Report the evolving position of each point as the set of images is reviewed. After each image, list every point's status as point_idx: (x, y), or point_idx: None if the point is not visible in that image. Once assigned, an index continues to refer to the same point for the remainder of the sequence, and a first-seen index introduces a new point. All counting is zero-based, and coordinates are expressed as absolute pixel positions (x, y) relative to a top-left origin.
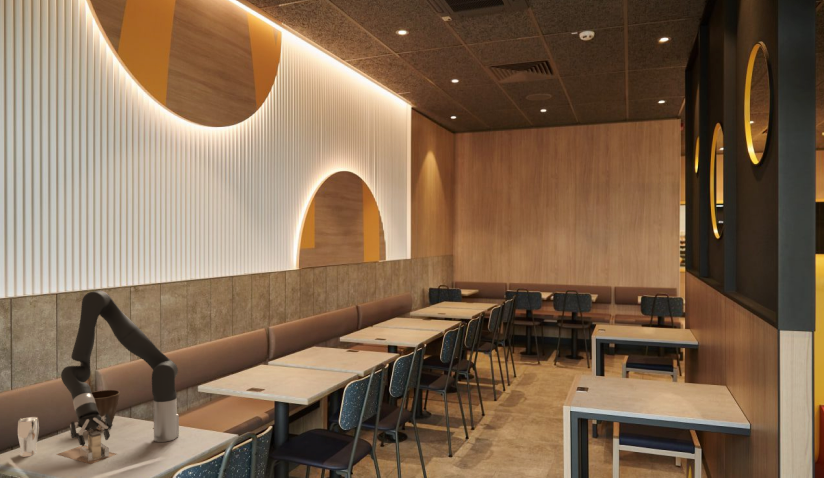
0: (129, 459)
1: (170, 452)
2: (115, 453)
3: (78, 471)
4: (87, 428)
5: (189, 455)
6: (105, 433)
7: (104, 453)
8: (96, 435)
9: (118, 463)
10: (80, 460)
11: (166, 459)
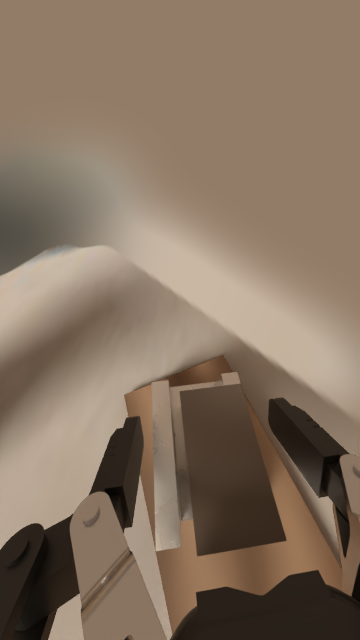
0: (112, 344)
1: (12, 320)
2: (127, 406)
3: (254, 348)
4: (326, 587)
5: (11, 276)
6: (132, 454)
7: (170, 391)
8: (210, 389)
9: (147, 334)
10: (257, 424)
11: (56, 285)
